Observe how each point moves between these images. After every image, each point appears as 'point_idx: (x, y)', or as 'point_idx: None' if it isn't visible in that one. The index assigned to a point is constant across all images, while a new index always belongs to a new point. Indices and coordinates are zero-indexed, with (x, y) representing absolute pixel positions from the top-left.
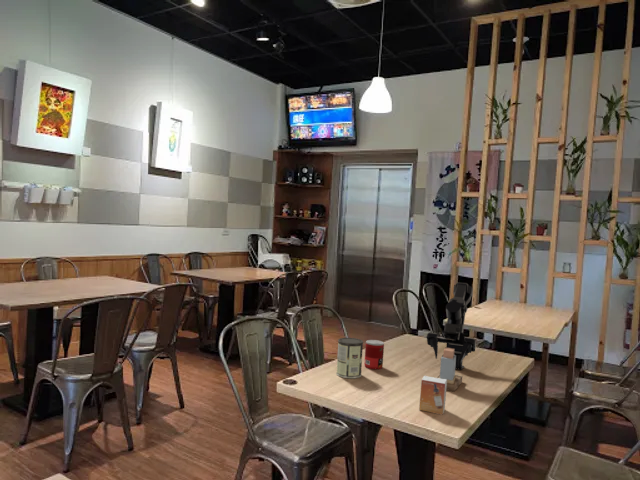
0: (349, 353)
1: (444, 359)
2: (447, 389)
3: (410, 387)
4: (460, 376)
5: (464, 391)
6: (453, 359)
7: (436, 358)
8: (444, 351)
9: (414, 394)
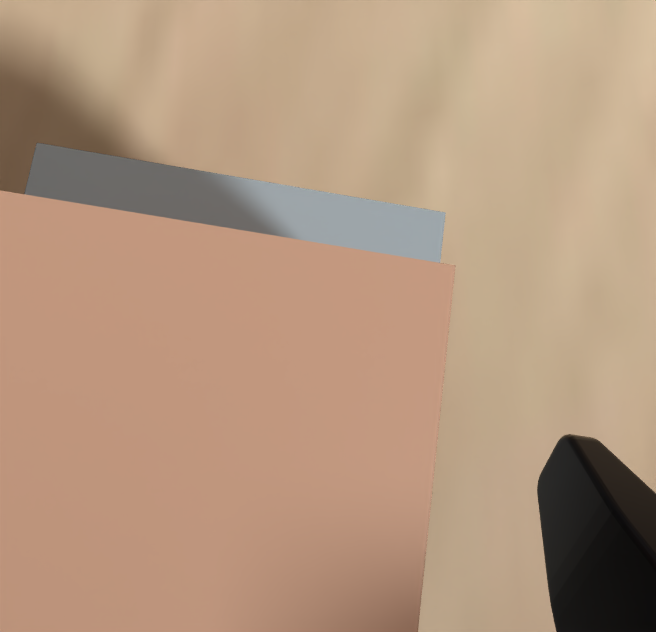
0: None
1: (332, 202)
2: None
3: (651, 218)
4: None
5: None
6: (44, 181)
7: (547, 464)
8: (392, 274)
9: (581, 13)
